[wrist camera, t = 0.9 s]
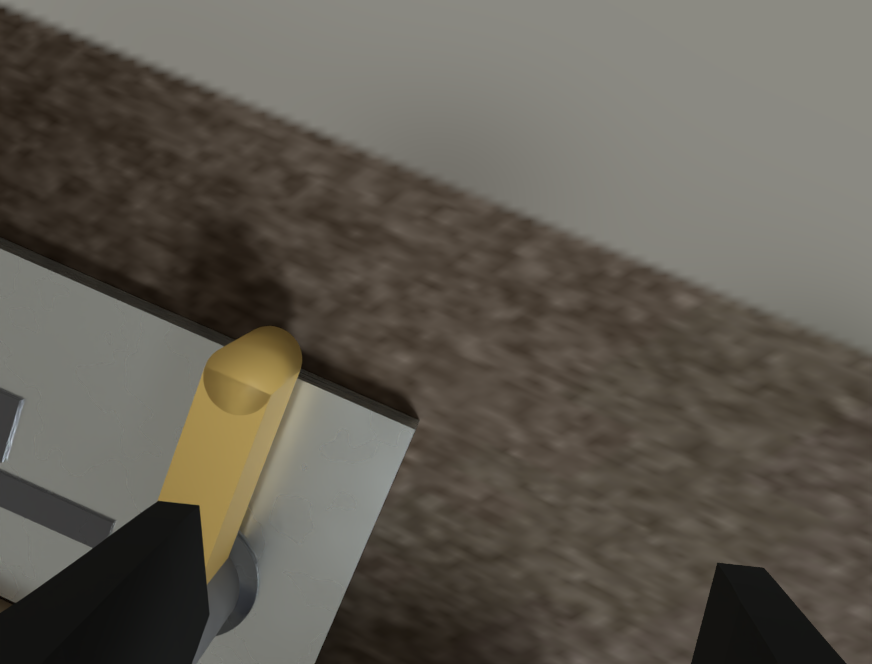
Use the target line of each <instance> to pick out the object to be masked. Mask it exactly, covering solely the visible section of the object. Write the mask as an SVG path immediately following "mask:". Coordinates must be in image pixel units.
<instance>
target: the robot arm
mask: <svg viewBox="0 0 872 664" xmlns="http://www.w3.org/2000/svg"><path fill="white" fill-rule="evenodd" d="M209 615H210V613H209V602H208V591H207V581H206V570H205V559H204V548H203V537H202V526H201V516H200V505H192V504H183V503H174V502H165V501H157V502H156V503H154V504H153V505H151V506H150V507H148V508H147V509H146V510H144V511H143V512H141V513H140V514H139V515H137V516H136V517H134V518H133V519H132V520H130V521H129V522H128V523H126V524H125V525H124V526H122V527H121V528H120V529H118V530H117V531H115V532H114V533H113V534H111V535H110V536H109V537H107V538H106V539H105V540H103V541H102V542H101V543H99V544H98V545H97V546H95V547H94V548H92V549H91V550H90V551H88V552H87V553H86V554H84V555H83V556H81V557H80V558H79V559H77V560H76V561H75V562H73V563H72V564H70V565H69V566H68V567H66V568H65V569H63V570H62V571H61V572H59V573H58V574H56V575H55V576H54V577H52V578H51V579H49V580H48V581H47V582H45V583H44V584H42V585H41V586H40V587H38V588H37V589H35V590H34V591H33V592H31V593H30V594H28V595H27V596H25V597H24V598H22V599H21V600H19V601H18V602H16V603H14V604H13V605H11V606H10V607H8V608H7V609H5V610H4V611H2V612H1V613H0V664H192V662H193V659H194V657H195V654H196V652H197V649H198V646H199V643H200V640H201V638H202V635H203V632H204V629H205V626H206V624H207V621H208V618H209ZM691 664H846V663H845V662H844V660H843V659H842V658H841V657H840V656H839V655H838V654H837V652H836V651H835V650H834V649H833V648H832V647H831V646H830V644H829V643H828V642H827V641H826V640H825V639H824V637H823V636H822V635H821V634H820V633H819V632H818V630H817V629H816V628H815V627H814V626H813V625H812V624H811V622H810V621H809V620H808V619H807V618H806V616H805V615H804V614H803V613H802V612H801V611H800V609H799V608H798V607H797V606H796V605H795V603H794V602H793V601H792V600H791V599H790V598H789V596H788V595H787V594H786V593H785V592H784V591H783V589H782V588H781V587H780V586H779V585H778V583H777V582H776V581H775V580H774V579H773V578H772V577H771V575H770V574H769V573H768V572H767V571H766V570H765V569H764V568H760V567H751V566H742V565H733V564H724V563H717V566H716V570H715V574H714V578H713V582H712V586H711V589H710V593H709V597H708V601H707V605H706V609H705V612H704V616H703V620H702V624H701V628H700V632H699V636H698V639H697V643H696V647H695V651H694V655H693V659H692V662H691Z"/></svg>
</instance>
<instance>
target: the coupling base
mask: <svg viewBox="0 0 872 664" xmlns="http://www.w3.org/2000/svg"><path fill="white" fill-rule="evenodd" d="M233 341H235V339H232V338H230V337H228V336H225V335H223V334H221V333H219V332H216V331H214V330H212V329H209V328H207V327H205V326H202V325H200V324H198V323H196V322H193V321H191V320H189V319H186V318H184V317H182V316H180V315H177V314H175V313H173V312H170V311H168V310H166V309H163V308H161V307H159V306H157V305H154V304H152V303H150V302H147V301H145V300H143V299H141V298H138V297H136V296H134V295H131V294H129V293H127V292H124V291H122V290H120V289H118V288H115V287H113V286H111V285H108V284H106V283H104V282H102V281H99V280H97V279H95V278H92V277H90V276H88V275H85V274H83V273H81V272H79V271H76V270H74V269H72V268H69V267H67V266H65V265H63V264H60V263H58V262H56V261H53V260H51V259H49V258H47V257H44V256H42V255H40V254H37V253H35V252H33V251H30V250H28V249H26V248H24V247H21V246H19V245H17V244H14V243H12V242H10V241H8V240H5V239H3V238H1V237H0V596H2V597H4V598H6V599H8V600H10V601H13V602H15V603H16V602H18V601H19V600H21V599H22V598H24V597H25V596H27V595H28V594H30V593H31V592H33V591H34V590H35V589H37V588H38V587H40V586H41V585H42V584H44V583H45V582H47V581H48V580H49V579H51V578H52V577H54V576H55V575H56V574H58V573H59V572H61V571H62V570H63V569H65V568H66V567H68V566H69V565H70V564H72V563H73V562H75V561H76V560H77V559H79V558H80V557H81V556H83V555H84V554H86V553H87V552H88V551H90V550H91V549H92V548H94V547H95V546H97V545H98V544H99V543H101V542H102V541H103V540H105V539H106V538H107V537H109V536H110V535H111V534H113V533H114V532H115V531H117V530H118V529H120V528H121V527H122V526H124V525H125V524H126V523H128V522H129V521H130V520H132V519H133V518H134V517H136V516H137V515H139V514H140V513H141V512H143V511H144V510H146V509H147V508H148V507H150V506H151V505H153V504H154V503H156V502H157V501H158V498H159V495H160V492H161V489H162V487H163V484H164V481H165V478H166V475H167V472H168V470H169V467H170V464H171V461H172V458H173V455H174V453H175V450H176V447H177V444H178V441H179V438H180V436H181V433H182V430H183V427H184V424H185V422H186V419H187V416H188V413H189V410H190V407H191V405H192V402H193V399H194V396H195V393H196V390H197V388H198V385H199V382H200V379H201V376H202V373H203V371H204V368H205V365H206V363H207V361H208V359H209V358H210V357H211V355H212V354H213V353H215V352H216V351H217V350H219V349H221V348H222V347H224V346H226V345H228V344H229V343H231V342H233ZM418 422H419V420H418V419H416V418H413V417H411V416H409V415H407V414H404V413H402V412H400V411H397V410H395V409H393V408H391V407H388V406H386V405H384V404H381V403H379V402H377V401H374V400H372V399H370V398H368V397H365V396H363V395H361V394H358V393H356V392H354V391H352V390H349V389H347V388H345V387H342V386H340V385H338V384H335V383H333V382H331V381H329V380H326V379H324V378H322V377H319V376H317V375H315V374H313V373H310V372H308V371H306V370H303V369H300V372H299V375H298V377H297V380H296V383H295V385H294V388H293V390H292V393H291V396H290V398H289V401H288V403H287V406H286V409H285V411H284V414H283V416H282V419H281V422H280V424H279V427H278V429H277V432H276V435H275V437H274V440H273V442H272V445H271V448H270V450H269V453H268V455H267V458H266V461H265V463H264V466H263V468H262V471H261V474H260V476H259V479H258V481H257V484H256V487H255V489H254V492H253V494H252V497H251V500H250V502H249V505H248V507H247V510H246V513H245V515H244V518H243V520H242V523H241V526H240V528H239V531H238V533H237V536H236V539H235V541H234V544H233V546H232V549H231V552H230V554H229V557H230V559H231V560H232V562H233V564H234V566H235V568H236V571H237V574H238V578H239V597H238V600H237V603H236V605H235V608H234V609H233V611H232V612H231V614H230V615H229V617H228V618H227V620H226V621H225V623H224V624H223V626H222V627H221V629H220V630H219V631H218V633H217V634H216V636H215V637H214V639H213V640H212V642H211V643H210V645H209V646H208V648H207V649H206V651H205V652H204V653H203V655H202V656H201V658H200V659H199V661H198V662H197V664H315V662H316V659H317V657H318V655H319V652H320V650H321V648H322V645H323V643H324V641H325V638H326V636H327V634H328V631H329V629H330V627H331V624H332V622H333V620H334V617H335V615H336V613H337V610H338V608H339V606H340V603H341V601H342V599H343V597H344V594H345V592H346V590H347V587H348V585H349V583H350V580H351V578H352V576H353V573H354V571H355V569H356V566H357V564H358V562H359V559H360V557H361V555H362V552H363V550H364V548H365V545H366V543H367V541H368V538H369V536H370V534H371V532H372V529H373V527H374V525H375V522H376V520H377V518H378V515H379V513H380V511H381V508H382V506H383V504H384V501H385V499H386V497H387V494H388V492H389V490H390V487H391V485H392V483H393V480H394V478H395V476H396V474H397V471H398V469H399V467H400V464H401V462H402V460H403V457H404V455H405V453H406V450H407V448H408V446H409V443H410V441H411V439H412V436H413V434H414V432H415V429H416V427H417V425H418Z"/></svg>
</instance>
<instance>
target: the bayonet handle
mask: <svg viewBox="0 0 872 664" xmlns="http://www.w3.org/2000/svg"><path fill="white" fill-rule="evenodd" d="M301 366H302V353H301V349H300V346H299V344H298V343H297V341H296V340H295V338H294V337H293V336H292V335H291V334H290V333H288V332H287V331H285V330H284V329H281V328H279V327H275V326H263V327H259V328H257V329H255V330H253V331H251V332H249V333H247V334H246V335H244V336H242V337H240V338H238V339H237V340H235V341H233V342H231V343H229V344H228V345H226V346H224V347H222V348H221V349H219V350H217V351H216V352H215V353H213V354H212V355H211V357H210V358H209V359H208V361H207V363H206V365H205V368H204V371H203V373H202V376H201V379H200V382H199V385H198V388H197V390H196V393H195V396H194V399H193V402H192V405H191V407H190V410H189V413H188V416H187V419H186V422H185V424H184V427H183V430H182V433H181V436H180V438H179V441H178V444H177V447H176V450H175V453H174V455H173V458H172V461H171V464H170V467H169V470H168V472H167V475H166V478H165V481H164V484H163V487H162V489H161V492H160V495H159V498H158V501H165V502H174V503H183V504H192V505H200V516H201V526H202V537H203V548H204V559H205V570H206V581H207V591H208V602H209V613H210V615H209V618H208V621H207V624H206V626H205V629H204V632H203V635H202V638H201V640H200V643H199V646H198V649H197V652H196V654H195V657H194V659H193V662H192V664H197V662H198V661H199V659H200V658H201V656H202V655H203V653H204V652H205V651H206V649H207V648H208V646H209V645H210V643H211V642H212V640H213V639H214V637H215V636H216V634H217V633H218V631H219V630H220V629H221V627H222V626H223V624H224V623H225V621H226V620H227V618H228V617H229V615H230V614H231V612H232V611H233V609H234V608H235V605H236V603H237V600H238V597H239V578H238V574H237V571H236V568H235V566H234V564H233V562H232V560H231V559H230V557H229V554H230V552H231V549H232V546H233V544H234V541H235V539H236V536H237V533H238V531H239V528H240V526H241V523H242V520H243V518H244V515H245V513H246V510H247V507H248V505H249V502H250V500H251V497H252V494H253V492H254V489H255V487H256V484H257V481H258V479H259V476H260V474H261V471H262V468H263V466H264V463H265V461H266V458H267V455H268V453H269V450H270V448H271V445H272V442H273V440H274V437H275V435H276V432H277V429H278V427H279V424H280V422H281V419H282V416H283V414H284V411H285V409H286V406H287V403H288V401H289V398H290V396H291V393H292V390H293V388H294V385H295V383H296V380H297V377H298V375H299V372H300V369H301Z"/></svg>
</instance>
